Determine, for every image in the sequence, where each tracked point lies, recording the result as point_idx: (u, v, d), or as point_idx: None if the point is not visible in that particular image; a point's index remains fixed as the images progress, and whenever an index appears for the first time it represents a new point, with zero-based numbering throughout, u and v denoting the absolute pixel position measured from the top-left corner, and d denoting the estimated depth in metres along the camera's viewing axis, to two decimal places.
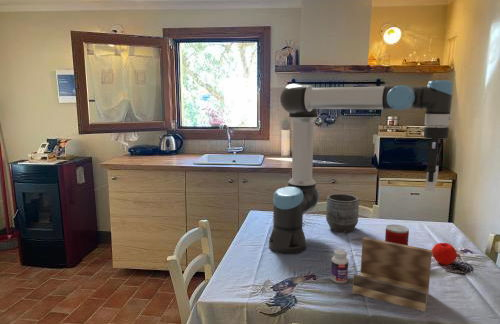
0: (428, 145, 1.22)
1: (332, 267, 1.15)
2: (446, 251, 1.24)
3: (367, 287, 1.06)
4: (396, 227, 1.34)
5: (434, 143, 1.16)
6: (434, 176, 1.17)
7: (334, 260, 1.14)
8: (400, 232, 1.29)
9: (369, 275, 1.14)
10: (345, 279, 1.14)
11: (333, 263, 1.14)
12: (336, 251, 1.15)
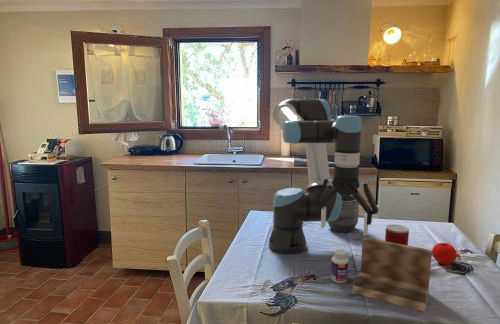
0: None
1: (332, 267, 1.15)
2: (446, 251, 1.24)
3: (367, 287, 1.06)
4: (396, 227, 1.34)
5: None
6: None
7: (334, 260, 1.14)
8: (400, 232, 1.29)
9: (369, 275, 1.14)
10: (345, 279, 1.14)
11: (333, 263, 1.14)
12: (336, 251, 1.15)
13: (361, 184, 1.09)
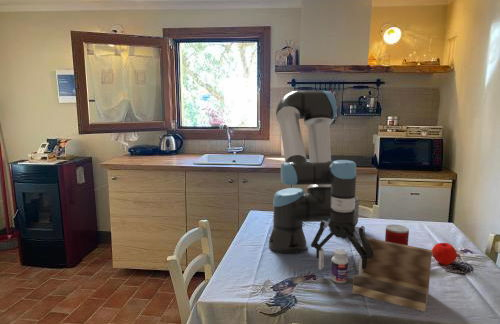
0: None
1: (332, 267, 1.15)
2: (446, 251, 1.24)
3: (367, 287, 1.06)
4: (396, 227, 1.34)
5: (321, 221, 1.16)
6: None
7: (334, 260, 1.14)
8: (400, 232, 1.29)
9: (369, 275, 1.14)
10: (345, 279, 1.14)
11: (333, 263, 1.14)
12: (336, 251, 1.15)
13: (357, 228, 1.10)
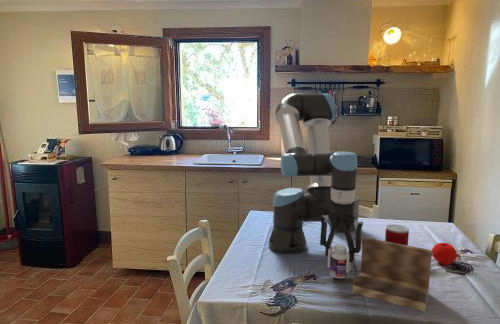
0: None
1: (332, 262, 1.15)
2: (446, 251, 1.24)
3: (367, 287, 1.06)
4: (396, 227, 1.34)
5: None
6: None
7: (334, 255, 1.14)
8: (400, 232, 1.29)
9: (369, 275, 1.14)
10: (344, 274, 1.14)
11: (333, 258, 1.14)
12: (336, 247, 1.15)
13: (356, 222, 1.10)
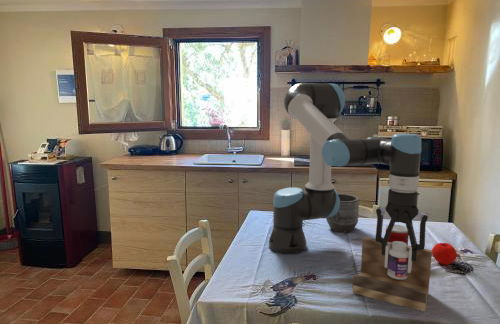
0: None
1: (390, 261, 1.00)
2: (446, 251, 1.24)
3: (367, 287, 1.06)
4: (396, 227, 1.34)
5: None
6: (385, 250, 1.02)
7: (393, 253, 0.99)
8: (400, 232, 1.29)
9: (369, 275, 1.14)
10: (405, 275, 0.99)
11: (392, 257, 1.00)
12: (395, 243, 1.00)
13: (420, 214, 0.96)
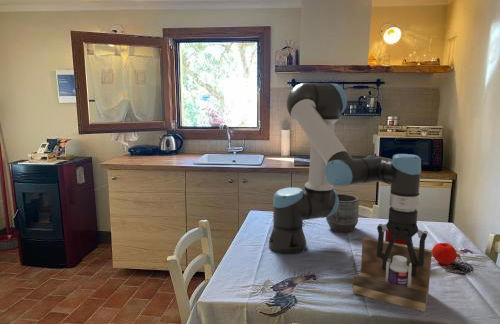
0: None
1: (391, 275, 1.04)
2: (446, 251, 1.24)
3: (367, 287, 1.06)
4: None
5: (378, 226, 1.06)
6: (386, 265, 1.06)
7: (393, 268, 1.03)
8: None
9: (369, 275, 1.14)
10: None
11: (392, 271, 1.03)
12: (395, 258, 1.04)
13: (420, 232, 1.00)
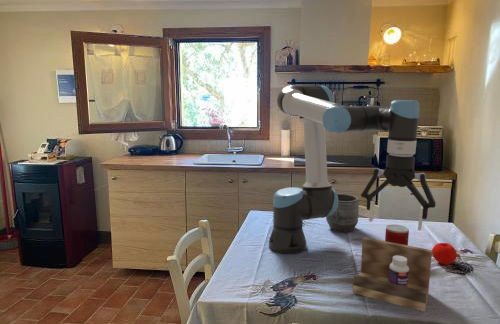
0: None
1: (391, 275, 1.04)
2: (446, 251, 1.24)
3: (367, 287, 1.06)
4: (396, 227, 1.34)
5: (375, 169, 1.06)
6: (370, 204, 1.07)
7: (393, 268, 1.03)
8: (400, 232, 1.29)
9: (369, 275, 1.14)
10: None
11: (392, 271, 1.03)
12: (395, 258, 1.04)
13: (417, 175, 1.00)
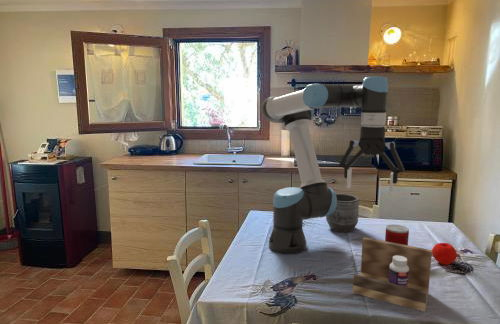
0: None
1: (391, 275, 1.04)
2: (446, 251, 1.24)
3: (367, 287, 1.06)
4: (396, 227, 1.34)
5: (351, 141, 1.17)
6: None
7: (393, 268, 1.03)
8: (400, 232, 1.29)
9: (369, 275, 1.14)
10: None
11: (392, 271, 1.03)
12: (395, 258, 1.04)
13: (387, 144, 1.12)
